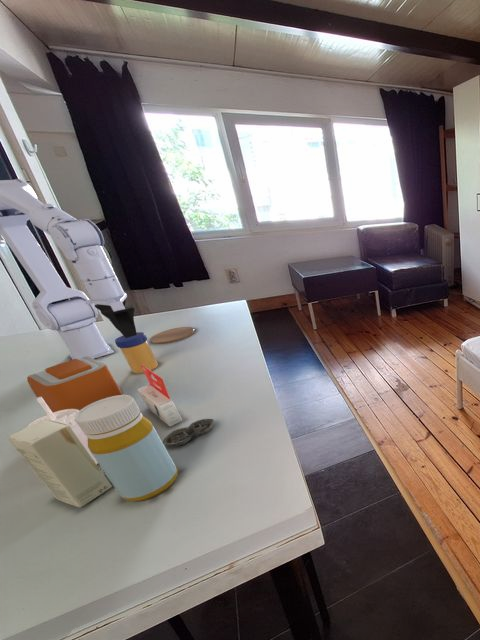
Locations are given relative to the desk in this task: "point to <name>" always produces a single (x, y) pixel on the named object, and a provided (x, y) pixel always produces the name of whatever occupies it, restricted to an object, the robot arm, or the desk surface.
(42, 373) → the alarm clock
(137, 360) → the jar
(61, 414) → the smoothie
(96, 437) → the bottle
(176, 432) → the corroded twin loop
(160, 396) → the ink cartridge box
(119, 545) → the desk surface
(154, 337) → the coaster
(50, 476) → the cosmetic box
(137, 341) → the lid
